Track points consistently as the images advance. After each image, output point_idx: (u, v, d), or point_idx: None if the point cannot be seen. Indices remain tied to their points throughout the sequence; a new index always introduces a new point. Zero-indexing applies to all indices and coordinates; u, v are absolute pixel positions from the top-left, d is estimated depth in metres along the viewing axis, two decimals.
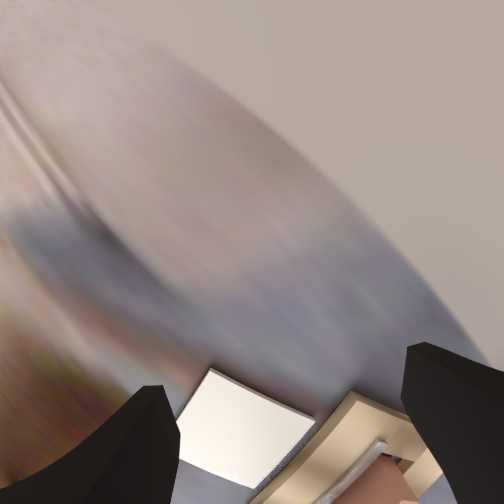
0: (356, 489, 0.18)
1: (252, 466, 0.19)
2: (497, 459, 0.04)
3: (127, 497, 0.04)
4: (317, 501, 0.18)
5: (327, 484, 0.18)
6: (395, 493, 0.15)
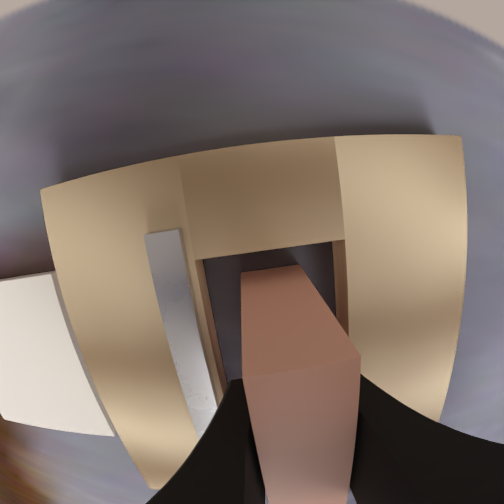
0: None
1: (69, 398, 0.11)
2: None
3: (253, 499, 0.04)
4: None
5: (173, 385, 0.10)
6: None
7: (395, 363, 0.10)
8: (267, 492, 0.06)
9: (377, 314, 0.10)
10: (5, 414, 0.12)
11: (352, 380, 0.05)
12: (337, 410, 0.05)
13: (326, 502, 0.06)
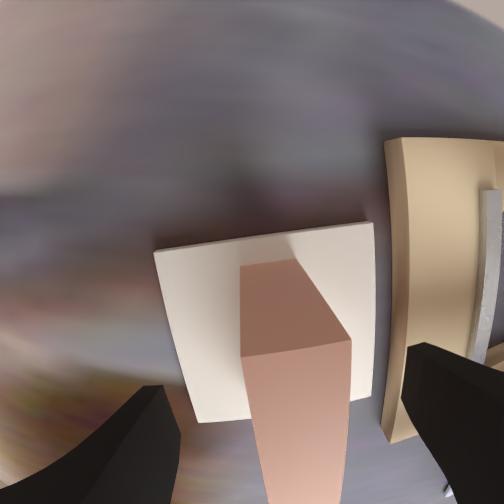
0: None
1: None
2: (497, 459, 0.04)
3: (127, 497, 0.04)
4: (469, 352, 0.11)
5: (466, 315, 0.11)
6: None
7: None
8: (264, 476, 0.06)
9: None
10: (206, 415, 0.13)
11: (344, 362, 0.05)
12: (330, 392, 0.06)
13: (321, 488, 0.06)
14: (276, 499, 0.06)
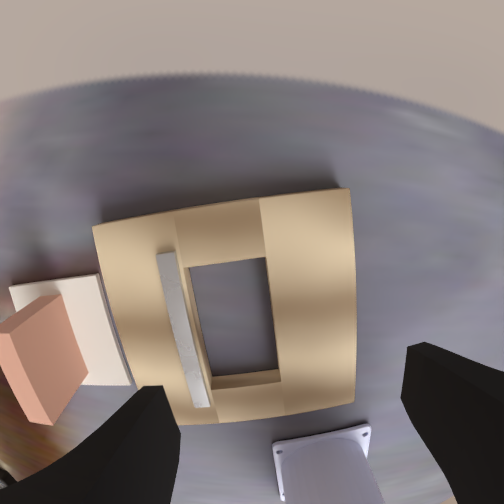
0: None
1: (101, 358, 0.19)
2: (497, 459, 0.04)
3: (127, 497, 0.04)
4: None
5: (171, 342, 0.17)
6: None
7: (308, 333, 0.18)
8: (13, 390, 0.13)
9: (290, 301, 0.17)
10: None
11: (11, 342, 0.12)
12: (12, 353, 0.12)
13: (36, 407, 0.13)
14: (24, 408, 0.13)
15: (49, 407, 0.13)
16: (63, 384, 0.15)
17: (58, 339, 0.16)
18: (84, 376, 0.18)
